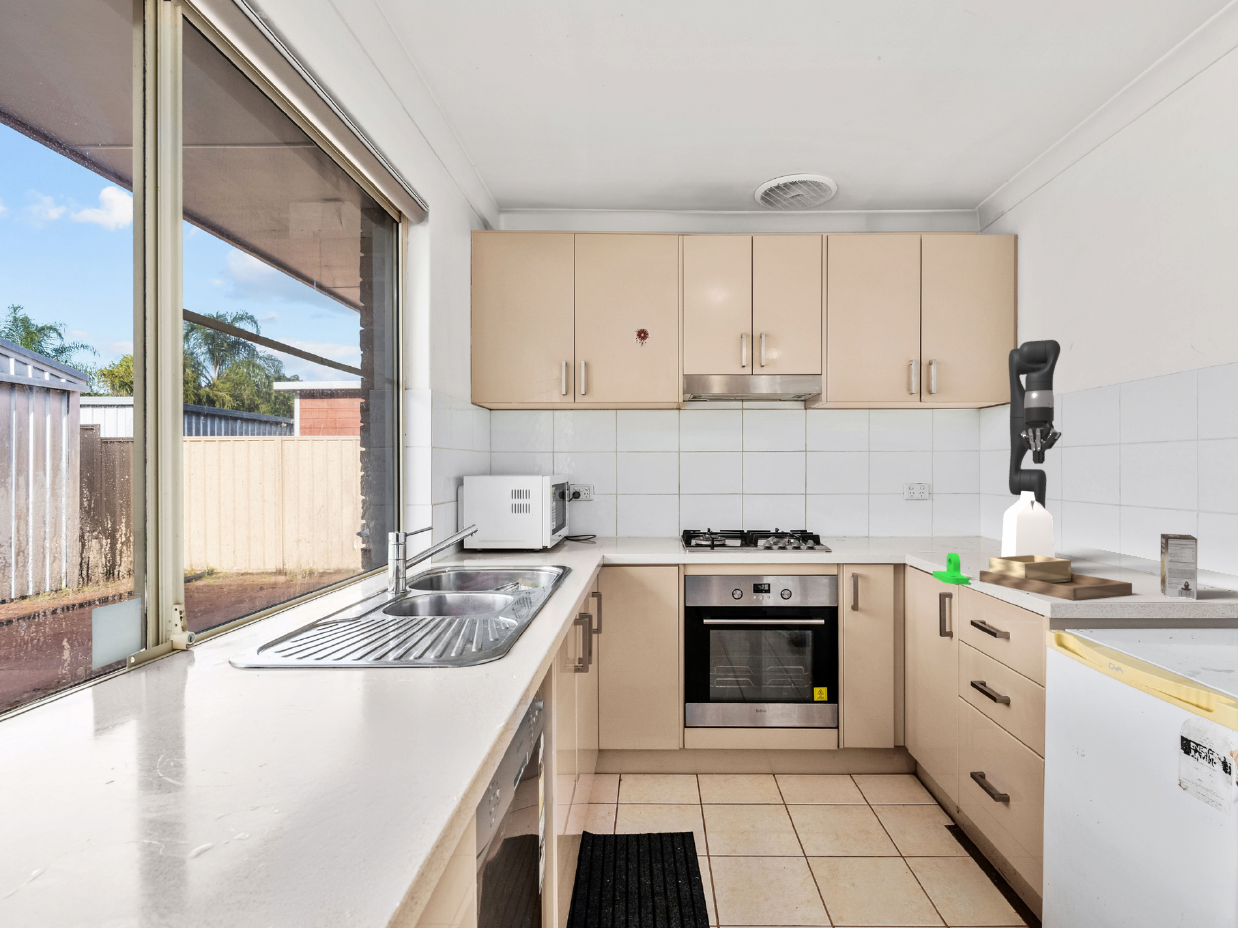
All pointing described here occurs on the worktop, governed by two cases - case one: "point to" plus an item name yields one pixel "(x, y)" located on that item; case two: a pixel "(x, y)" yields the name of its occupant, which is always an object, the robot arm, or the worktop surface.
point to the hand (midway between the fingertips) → (1038, 463)
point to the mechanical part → (952, 571)
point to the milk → (1027, 529)
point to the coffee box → (1179, 565)
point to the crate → (1032, 567)
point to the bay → (1063, 586)
